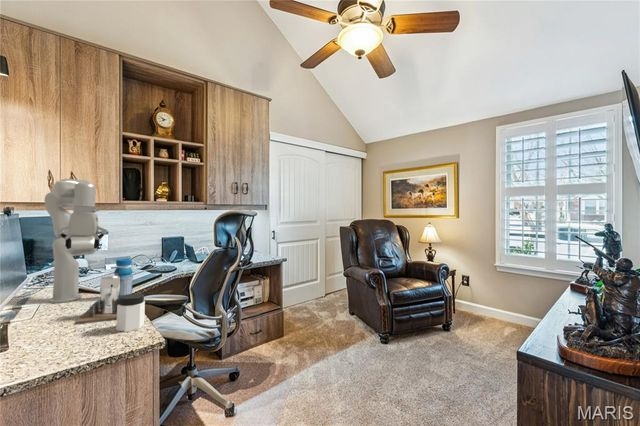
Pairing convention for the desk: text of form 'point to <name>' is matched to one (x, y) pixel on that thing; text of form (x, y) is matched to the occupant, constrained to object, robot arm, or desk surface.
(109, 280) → the beer glass
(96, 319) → the u rest
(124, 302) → the jar
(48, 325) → the desk surface
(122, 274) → the beverage bottle
